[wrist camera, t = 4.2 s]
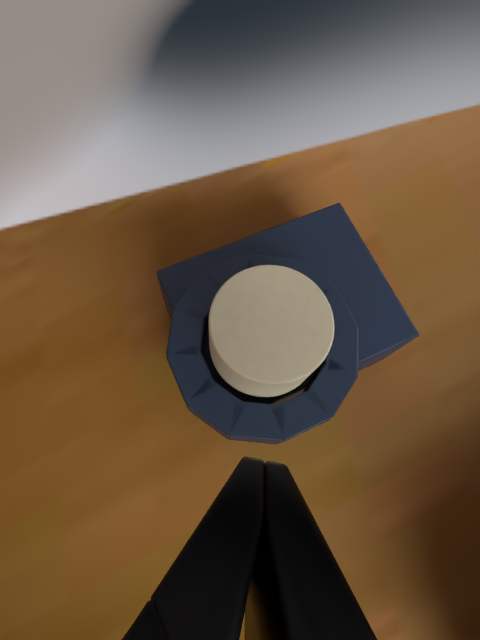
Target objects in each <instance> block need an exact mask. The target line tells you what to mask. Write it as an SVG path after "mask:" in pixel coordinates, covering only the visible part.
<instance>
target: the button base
mask: <svg viewBox="0 0 480 640" xmlns="http://www.w3.org/2000/svg"><path fill="white" fill-rule="evenodd" d="M260 265H278V266H284V267H287V268H291V269H293V270H296V271H298V272H300V273H302V274H303V275H305V276H307V277H308V278H309V279H311V280H312V281H313V282H314V283H315V284H316V285H317V286H318V287H319V288H320V289H321V291H322V292H323V293H324V295H325V296H326V298H327V300H328V302H329V304H330V306H331V310H332V313H333V318H334V338H333V342H332V345H331V348H330V351H329V353H328V354H327V356H326V358H325V359H324V361H323V362H322V363H321V365H320V366H319V367H318V368H317V369H316V370H315V371H314V372H312V373H311V374H310V375H309V376H308V377H307V378H306V379H305V380H304V381H303V382H302V383H301V384H300V385H299V386H298V387H296V388H295V389H293V390H292V391H290V392H288V393H285V394H283V395H279V396H275V397H256V396H251V395H248V394H245V393H242V392H240V391H238V390H237V389H235V388H233V387H232V386H231V385H229V384H228V383H227V382H226V381H225V380H224V379H223V378H222V377H221V375H220V374H219V373H218V371H217V370H216V368H215V366H214V364H213V361H212V358H211V354H210V347H209V313H210V308H211V305H212V302H213V299H214V297H215V295H216V293H217V292H218V291H219V289H220V288H221V286H222V285H223V284H224V283H225V282H226V281H227V280H228V279H230V278H231V277H232V276H234V275H235V274H237V273H238V272H241V271H243V270H245V269H248V268H251V267H254V266H260ZM157 277H158V280H159V284H160V287H161V291H162V294H163V298H164V301H165V305H166V308H167V310H168V312H169V315H170V317H171V325H170V331H169V338H168V344H167V351H166V354H167V356H166V358H167V360H168V362H169V365H170V367H171V370H172V372H173V374H174V377H175V379H176V382H177V384H178V387H179V389H180V391H181V394H182V396H183V399H184V401H185V403H186V406H187V408H188V409H189V411H190V412H192V413H193V414H194V415H196V416H197V417H198V418H200V419H201V420H202V421H204V422H205V423H206V424H208V425H209V426H210V427H212V428H213V429H214V430H216V431H217V432H218V433H220V434H221V435H223V436H224V437H225V438H227V439H229V440H238V441H248V442H258V443H268V444H279V443H282V442H284V441H287V440H289V439H291V438H293V437H295V436H297V435H299V434H301V433H303V432H305V431H307V430H309V429H311V428H313V427H316V426H318V425H320V424H322V423H324V422H326V421H328V420H330V419H331V418H332V417H333V416H334V414H335V413H336V411H337V409H338V408H339V406H340V405H341V403H342V401H343V400H344V398H345V397H346V395H347V393H348V392H349V390H350V389H351V387H352V385H353V384H354V382H355V380H356V379H357V377H358V376H357V375H358V371H359V370H361V369H363V368H365V367H367V366H369V365H372V364H374V363H376V362H378V361H380V360H382V359H384V358H385V357H387V356H388V355H390V354H392V353H393V352H395V351H396V350H398V349H399V348H401V347H402V346H404V345H405V344H407V343H408V342H410V341H411V340H413V339H415V338H416V337H418V336H419V333H418V331H417V330H416V328H415V326H414V325H413V323H412V321H411V320H410V318H409V316H408V315H407V313H406V311H405V310H404V308H403V306H402V305H401V303H400V301H399V300H398V298H397V297H396V295H395V293H394V292H393V290H392V288H391V287H390V285H389V283H388V282H387V280H386V278H385V277H384V275H383V273H382V272H381V270H380V268H379V267H378V265H377V263H376V262H375V260H374V258H373V257H372V255H371V254H370V252H369V250H368V249H367V247H366V245H365V244H364V242H363V240H362V239H361V237H360V235H359V234H358V232H357V230H356V229H355V227H354V225H353V224H352V222H351V220H350V219H349V217H348V216H347V214H346V212H345V211H344V209H343V207H342V206H341V204H340V203H337V204H335V205H332V206H329V207H327V208H324V209H321V210H319V211H316V212H313V213H311V214H308V215H305V216H303V217H300V218H297V219H295V220H292V221H289V222H287V223H284V224H281V225H279V226H276V227H273V228H271V229H268V230H265V231H263V232H260V233H257V234H255V235H252V236H249V237H247V238H244V239H241V240H239V241H236V242H233V243H231V244H228V245H226V246H223V247H220V248H218V249H215V250H212V251H210V252H207V253H204V254H202V255H199V256H196V257H194V258H191V259H188V260H186V261H183V262H180V263H178V264H175V265H172V266H170V267H167V268H164V269H162V270H159V271H157Z"/></svg>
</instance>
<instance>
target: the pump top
mask: <svg viewBox="0 0 480 640" xmlns="http://www.w3.org/2000/svg"><path fill="white" fill-rule="evenodd" d="M333 338H334V318H333V313H332V310H331V306H330V304H329V302H328V300H327V298H326V296H325V295H324V293H323V292H322V291H321V289H320V288H319V287H318V286H317V285H316V284H315V283H314V282H313V281H312V280H311V279H309V278H308V277H307V276H305V275H303V274H302V273H300V272H298V271H296V270H293V269H291V268H287V267H284V266H278V265H260V266H254V267H251V268H248V269H245V270H243V271H241V272H238V273H237V274H235V275H234V276H232V277H231V278H230V279H228V280H227V281H226V282H225V283H224V284H223V285H222V286H221V288H220V289H219V291H218V292H217V293H216V295H215V297H214V299H213V302H212V305H211V308H210V313H209V347H210V354H211V358H212V361H213V364H214V366H215V368H216V370H217V371H218V373H219V374H220V375H221V377H222V378H223V379H224V380H225V381H226V382H227V383H228V384H229V385H231V386H232V387H233V388H235V389H237V390H238V391H240V392H242V393H245V394H248V395H251V396H256V397H275V396H279V395H283V394H285V393H288V392H290V391H292V390H293V389H295V388H296V387H298V386H299V385H300V384H301V383H302V382H303V381H304V380H305V379H306V378H307V377H308V376H309V375H310V374H311V373H312V372H314V371H315V370H316V369H317V368H318V367H319V366H320V365H321V363H322V362H323V361H324V359H325V358H326V356H327V354H328V353H329V351H330V348H331V345H332V342H333Z"/></svg>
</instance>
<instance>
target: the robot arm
mask: <svg viewBox="0 0 480 640" xmlns="http://www.w3.org/2000/svg"><path fill="white" fill-rule="evenodd" d="M244 612H245V640H377V639H376V637H375V635H374V633H373V631H372V629H371V627H370V625H369V623H368V621H367V619H366V617H365V615H364V614H363V612H362V610H361V608H360V606H359V604H358V602H357V600H356V598H355V596H354V594H353V592H352V590H351V589H350V587H349V585H348V583H347V581H346V579H345V577H344V575H343V573H342V571H341V569H340V567H339V565H338V564H337V562H336V560H335V558H334V556H333V554H332V552H331V550H330V548H329V546H328V544H327V542H326V540H325V539H324V537H323V535H322V533H321V531H320V529H319V527H318V525H317V523H316V521H315V519H314V517H313V515H312V513H311V512H310V510H309V508H308V506H307V504H306V502H305V500H304V498H303V496H302V494H301V492H300V490H299V488H298V487H297V485H296V483H295V481H294V479H293V477H292V475H291V473H290V471H289V469H288V467H287V466H286V465H284V464H281V463H276V462H271V461H267V462H265V463H264V462H263V460H261V459H256V458H251V457H243V458H242V459H241V461H240V462H239V464H238V465H237V467H236V468H235V470H234V472H233V473H232V475H231V476H230V478H229V479H228V481H227V482H226V484H225V485H224V487H223V488H222V490H221V491H220V493H219V494H218V496H217V497H216V499H215V500H214V502H213V503H212V505H211V506H210V508H209V510H208V511H207V513H206V514H205V516H204V517H203V519H202V520H201V522H200V523H199V525H198V526H197V528H196V529H195V531H194V532H193V534H192V535H191V537H190V538H189V540H188V541H187V543H186V544H185V546H184V548H183V549H182V551H181V552H180V554H179V555H178V557H177V558H176V560H175V561H174V563H173V564H172V566H171V567H170V569H169V570H168V572H167V573H166V575H165V576H164V578H163V579H162V581H161V583H160V584H159V586H158V587H157V589H156V590H155V592H154V593H153V595H152V596H151V600H150V601H148V602H147V603H146V605H145V606H144V608H143V609H142V611H141V612H140V614H139V615H138V617H137V618H136V620H135V621H134V623H133V624H132V626H131V627H130V629H129V630H128V631H127V633H126V634H125V636H124V637H123V639H122V640H239V637H240V632H241V627H242V622H243V617H244Z"/></svg>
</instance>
